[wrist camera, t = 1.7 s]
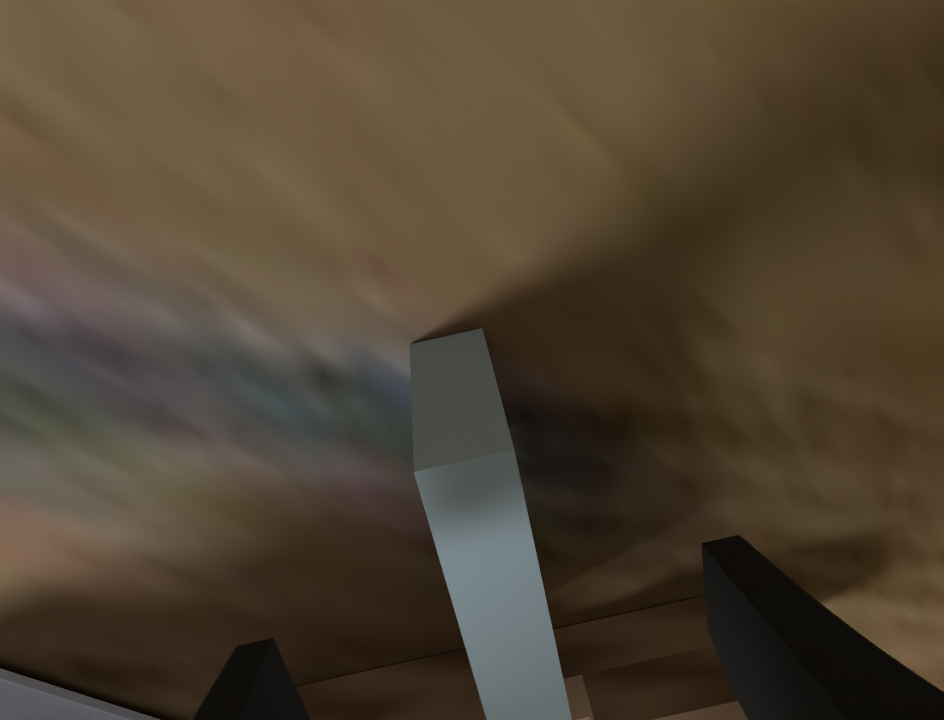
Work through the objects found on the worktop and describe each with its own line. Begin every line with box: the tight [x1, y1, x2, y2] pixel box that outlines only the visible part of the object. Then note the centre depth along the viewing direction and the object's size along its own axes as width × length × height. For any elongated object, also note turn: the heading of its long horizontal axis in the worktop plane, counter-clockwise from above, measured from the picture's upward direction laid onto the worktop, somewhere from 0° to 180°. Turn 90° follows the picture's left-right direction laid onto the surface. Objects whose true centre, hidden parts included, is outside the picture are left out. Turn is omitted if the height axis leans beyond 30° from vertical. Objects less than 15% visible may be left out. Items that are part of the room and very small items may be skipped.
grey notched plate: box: [410, 328, 572, 720], centre depth 19 cm, size 10×2×6 cm, turn 12°
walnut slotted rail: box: [296, 596, 748, 720], centre depth 23 cm, size 18×2×4 cm, turn 102°
